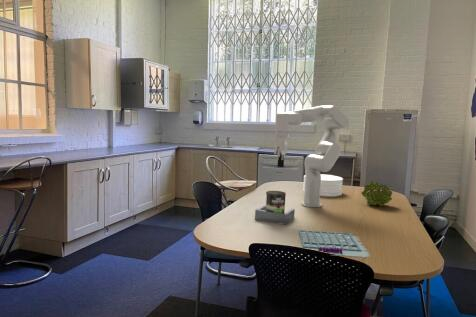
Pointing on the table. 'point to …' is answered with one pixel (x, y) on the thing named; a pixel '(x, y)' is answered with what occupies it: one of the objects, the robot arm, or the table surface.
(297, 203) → the table surface
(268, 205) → the coffee can
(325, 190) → the plate stack
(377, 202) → the green bumpy round lump
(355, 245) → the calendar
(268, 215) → the can holder bay
